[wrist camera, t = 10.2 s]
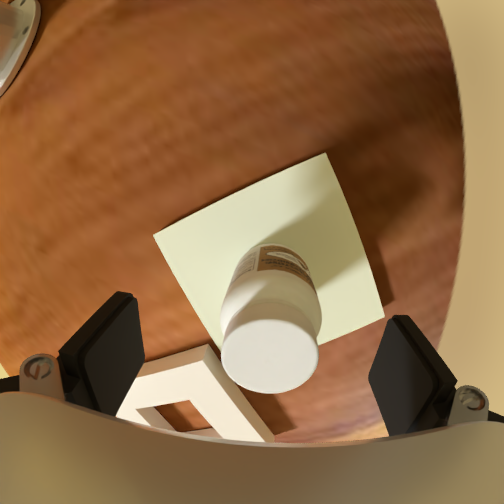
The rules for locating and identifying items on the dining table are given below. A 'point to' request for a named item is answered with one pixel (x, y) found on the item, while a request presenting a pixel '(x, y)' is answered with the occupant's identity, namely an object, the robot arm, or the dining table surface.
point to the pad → (279, 232)
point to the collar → (194, 396)
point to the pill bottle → (270, 321)
